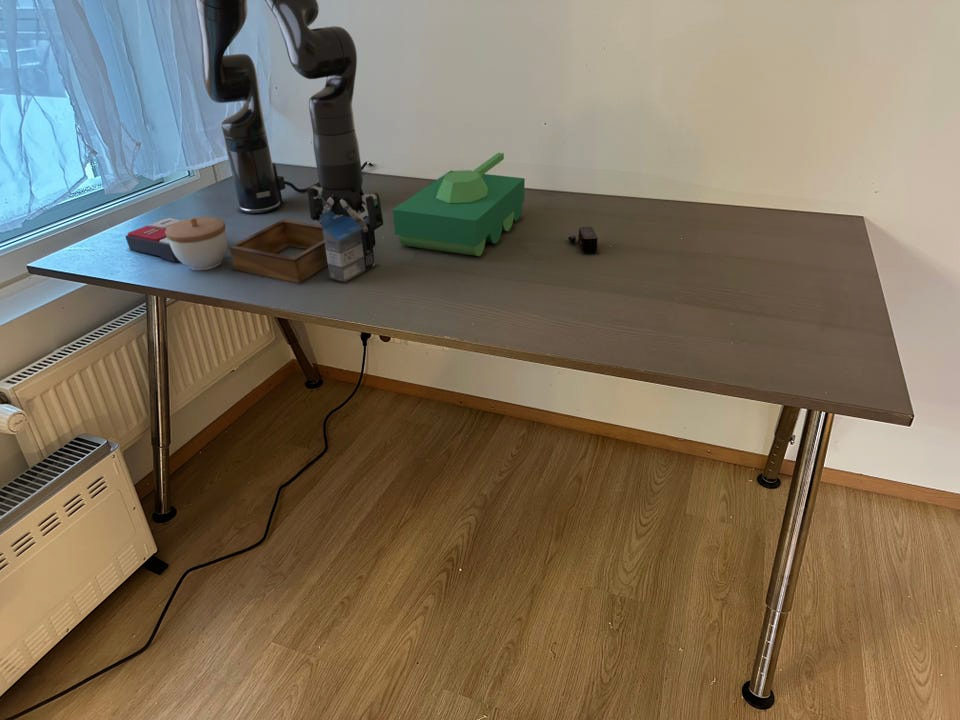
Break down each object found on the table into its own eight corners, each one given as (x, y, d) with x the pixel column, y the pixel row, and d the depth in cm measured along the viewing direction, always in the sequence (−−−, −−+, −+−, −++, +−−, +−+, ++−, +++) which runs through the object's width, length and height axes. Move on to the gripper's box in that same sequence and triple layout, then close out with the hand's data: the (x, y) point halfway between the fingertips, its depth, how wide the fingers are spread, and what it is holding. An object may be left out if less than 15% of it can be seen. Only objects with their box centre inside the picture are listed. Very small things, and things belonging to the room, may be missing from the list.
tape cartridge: (344, 283, 121) (335, 219, 114) (329, 279, 123) (318, 215, 116) (376, 265, 127) (368, 203, 121) (360, 261, 129) (352, 200, 122)
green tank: (536, 151, 148) (475, 201, 121) (535, 204, 155) (477, 263, 127) (464, 145, 154) (390, 190, 127) (465, 196, 160) (396, 250, 133)
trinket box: (244, 256, 133) (234, 211, 128) (210, 278, 124) (198, 231, 119) (199, 250, 136) (187, 206, 131) (164, 272, 127) (149, 225, 122)
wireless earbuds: (590, 240, 135) (591, 225, 134) (597, 254, 129) (598, 238, 128) (567, 241, 135) (568, 226, 134) (573, 255, 129) (574, 239, 128)
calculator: (168, 215, 143) (214, 223, 136) (174, 234, 145) (220, 243, 138) (122, 232, 135) (169, 242, 128) (129, 252, 138) (176, 262, 131)
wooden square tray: (287, 240, 139) (283, 219, 137) (349, 251, 133) (346, 229, 131) (233, 269, 127) (228, 246, 125) (299, 283, 122) (294, 259, 119)
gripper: (384, 155, 114) (393, 244, 122) (317, 148, 119) (330, 233, 128) (359, 167, 108) (371, 259, 117) (290, 159, 113) (306, 247, 122)
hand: (350, 245), depth 122 cm, fingers open, 8 cm apart
